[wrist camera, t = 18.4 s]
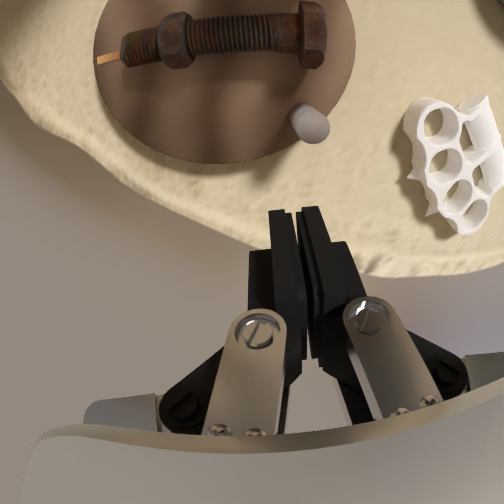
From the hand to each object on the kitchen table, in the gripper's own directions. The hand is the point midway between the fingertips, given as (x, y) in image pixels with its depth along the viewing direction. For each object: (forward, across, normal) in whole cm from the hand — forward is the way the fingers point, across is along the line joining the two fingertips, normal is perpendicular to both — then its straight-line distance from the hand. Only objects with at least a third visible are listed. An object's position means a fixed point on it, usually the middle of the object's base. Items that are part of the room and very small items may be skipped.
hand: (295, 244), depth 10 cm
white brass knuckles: (+20, -22, +4) cm, 29 cm away
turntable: (+19, +3, -9) cm, 22 cm away
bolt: (+17, +3, -9) cm, 19 cm away
